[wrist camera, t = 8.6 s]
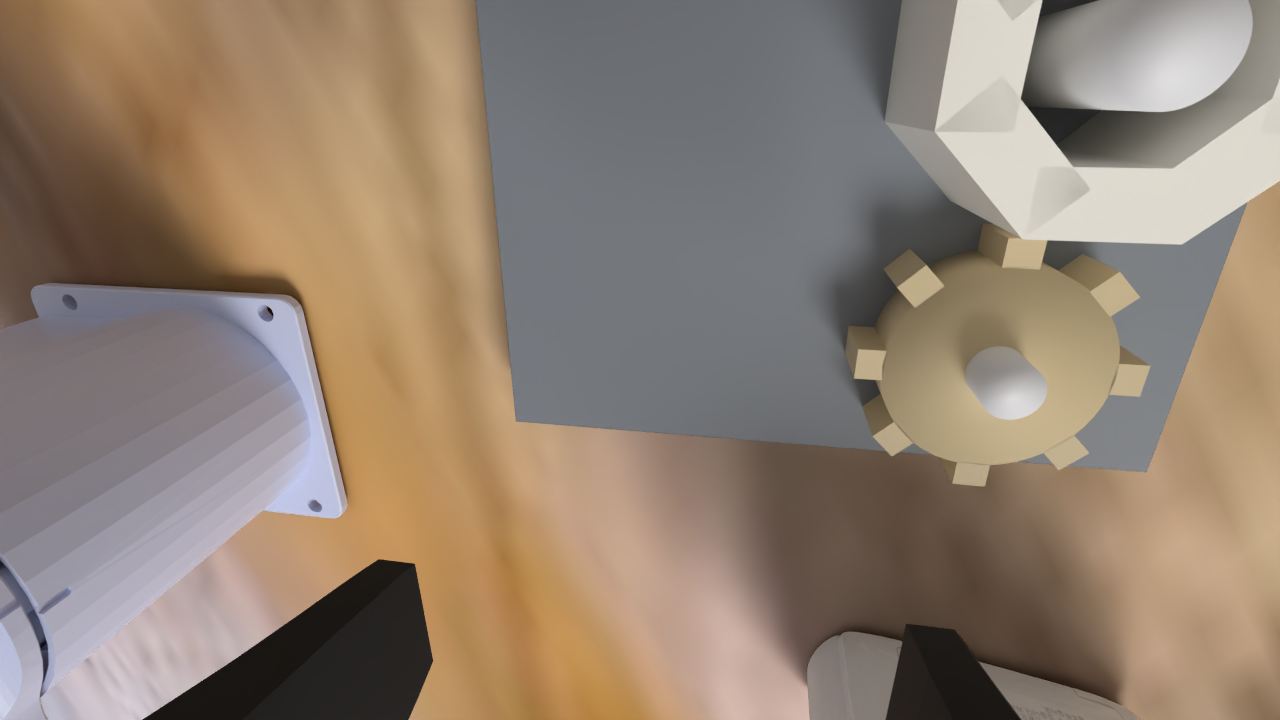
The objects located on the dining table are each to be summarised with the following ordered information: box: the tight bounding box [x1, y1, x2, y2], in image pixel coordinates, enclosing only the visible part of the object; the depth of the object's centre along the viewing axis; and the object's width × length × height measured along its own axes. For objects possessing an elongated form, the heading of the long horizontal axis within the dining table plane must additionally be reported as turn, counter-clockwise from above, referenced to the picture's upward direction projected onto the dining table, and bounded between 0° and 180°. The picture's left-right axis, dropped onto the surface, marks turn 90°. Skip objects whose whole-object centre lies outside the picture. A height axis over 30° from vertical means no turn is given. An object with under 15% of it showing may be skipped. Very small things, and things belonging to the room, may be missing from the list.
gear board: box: [476, 0, 1253, 487], centre depth 11 cm, size 16×18×6 cm
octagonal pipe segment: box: [885, 0, 1280, 245], centre depth 10 cm, size 5×5×4 cm
